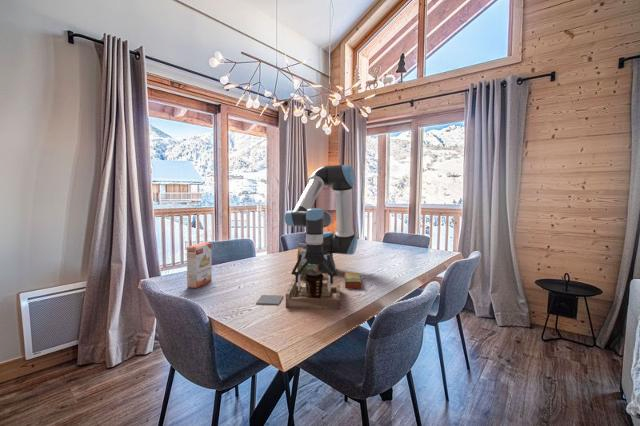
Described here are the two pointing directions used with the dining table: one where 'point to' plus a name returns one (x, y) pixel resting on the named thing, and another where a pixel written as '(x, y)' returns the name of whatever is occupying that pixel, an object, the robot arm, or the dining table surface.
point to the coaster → (270, 299)
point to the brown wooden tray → (312, 302)
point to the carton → (352, 280)
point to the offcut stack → (324, 290)
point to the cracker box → (199, 265)
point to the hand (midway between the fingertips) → (314, 290)
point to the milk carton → (309, 267)
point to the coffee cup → (314, 284)
